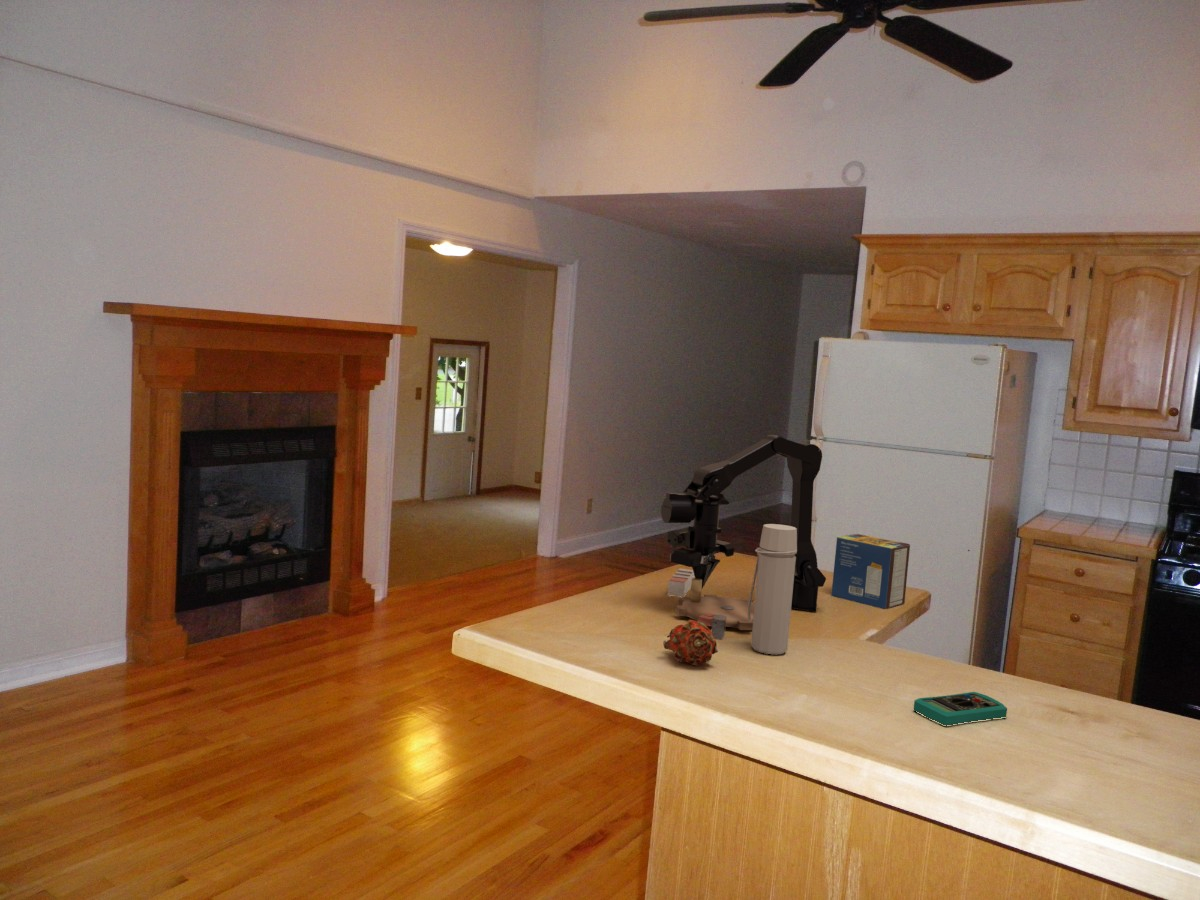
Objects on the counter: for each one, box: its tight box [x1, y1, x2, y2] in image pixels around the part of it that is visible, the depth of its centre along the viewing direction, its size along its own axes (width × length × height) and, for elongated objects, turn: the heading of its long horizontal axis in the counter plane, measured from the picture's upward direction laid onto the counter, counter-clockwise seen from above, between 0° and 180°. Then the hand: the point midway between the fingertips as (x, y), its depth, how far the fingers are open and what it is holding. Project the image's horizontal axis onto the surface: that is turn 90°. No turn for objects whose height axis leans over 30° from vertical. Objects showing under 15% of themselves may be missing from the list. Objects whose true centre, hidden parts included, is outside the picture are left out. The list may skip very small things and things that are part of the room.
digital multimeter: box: [913, 691, 1008, 726], centre depth 151 cm, size 7×15×3 cm, turn 115°
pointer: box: [710, 614, 726, 640], centre depth 187 cm, size 2×5×4 cm, turn 165°
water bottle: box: [748, 523, 797, 656], centre depth 179 cm, size 9×8×25 cm
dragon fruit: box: [663, 619, 719, 667], centre depth 169 cm, size 8×8×12 cm
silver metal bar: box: [667, 568, 695, 597], centre depth 226 cm, size 4×16×4 cm, turn 166°
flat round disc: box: [674, 577, 755, 631], centre depth 201 cm, size 23×23×6 cm
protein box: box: [830, 533, 911, 610], centre depth 229 cm, size 10×15×16 cm
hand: (699, 588), depth 208 cm, fingers closed
